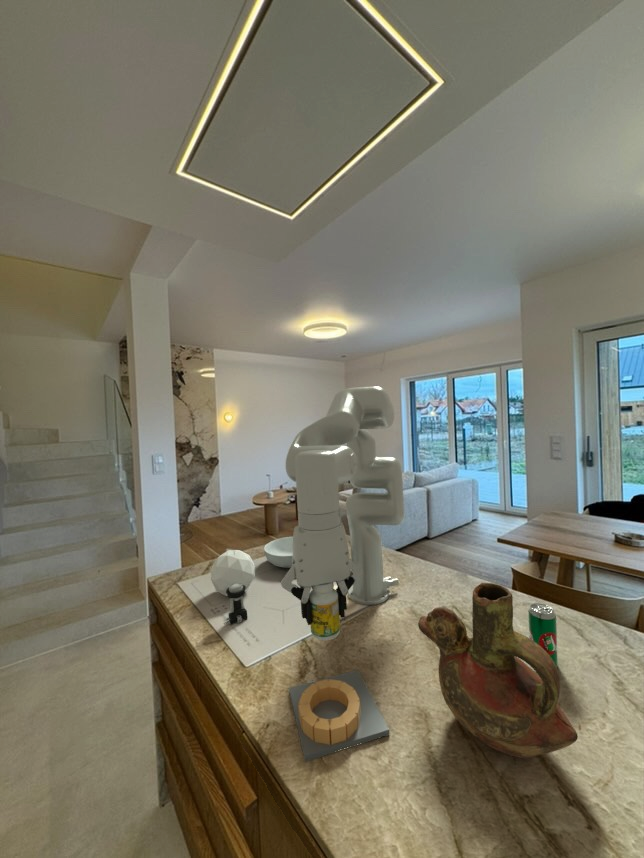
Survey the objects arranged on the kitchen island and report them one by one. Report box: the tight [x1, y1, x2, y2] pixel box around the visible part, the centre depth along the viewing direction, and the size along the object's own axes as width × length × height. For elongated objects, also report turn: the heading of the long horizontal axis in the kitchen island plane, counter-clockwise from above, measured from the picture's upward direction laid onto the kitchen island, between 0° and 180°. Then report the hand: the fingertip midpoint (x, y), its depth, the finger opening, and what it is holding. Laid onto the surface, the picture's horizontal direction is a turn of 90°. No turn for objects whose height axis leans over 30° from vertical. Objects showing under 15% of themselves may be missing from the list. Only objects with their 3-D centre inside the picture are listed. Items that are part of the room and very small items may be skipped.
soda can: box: [528, 602, 559, 667], centre depth 75 cm, size 5×5×12 cm
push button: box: [223, 582, 248, 625], centre depth 97 cm, size 7×5×10 cm
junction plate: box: [288, 669, 391, 762], centre depth 66 cm, size 15×15×1 cm
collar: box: [298, 679, 361, 745], centre depth 64 cm, size 11×11×2 cm
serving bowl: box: [263, 536, 293, 569], centre depth 135 cm, size 21×21×7 cm
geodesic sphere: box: [210, 547, 256, 597], centre depth 114 cm, size 15×14×14 cm
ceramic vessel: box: [417, 582, 578, 759], centre depth 61 cm, size 17×26×25 cm, turn 45°
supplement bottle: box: [309, 582, 341, 641], centre depth 63 cm, size 5×5×10 cm
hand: (324, 616), depth 64 cm, fingers closed on supplement bottle, 5 cm apart
